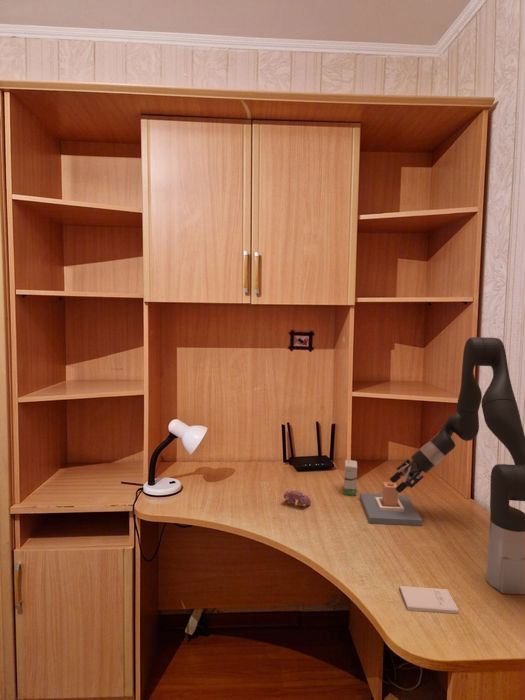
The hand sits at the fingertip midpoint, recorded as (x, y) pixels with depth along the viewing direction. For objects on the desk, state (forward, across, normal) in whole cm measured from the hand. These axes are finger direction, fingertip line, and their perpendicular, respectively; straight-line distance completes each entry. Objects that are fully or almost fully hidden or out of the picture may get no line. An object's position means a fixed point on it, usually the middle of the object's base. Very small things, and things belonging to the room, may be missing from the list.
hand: (394, 486), depth 157 cm
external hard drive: (+10, +49, +6) cm, 50 cm away
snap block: (+6, 0, +5) cm, 8 cm away
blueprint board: (+8, 0, +6) cm, 10 cm away
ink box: (+16, -16, -2) cm, 23 cm away
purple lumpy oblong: (+32, -2, -18) cm, 37 cm away
